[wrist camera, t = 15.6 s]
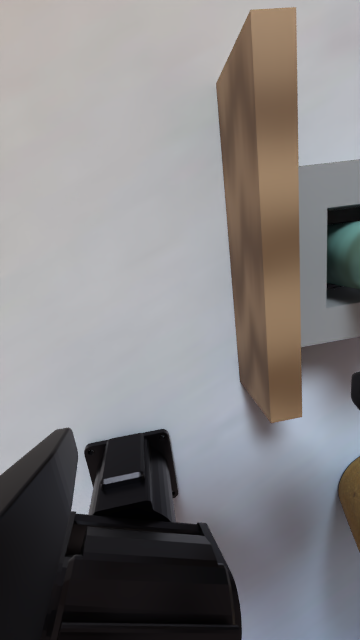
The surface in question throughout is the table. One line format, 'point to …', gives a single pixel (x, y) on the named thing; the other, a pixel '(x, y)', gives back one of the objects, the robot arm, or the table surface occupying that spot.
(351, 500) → the plant pot
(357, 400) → the robot arm
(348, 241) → the dowel
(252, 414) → the table surface
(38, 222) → the table surface
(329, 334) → the socket block
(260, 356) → the backstop wall
